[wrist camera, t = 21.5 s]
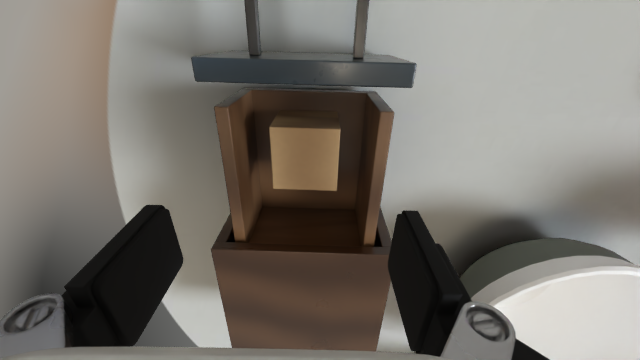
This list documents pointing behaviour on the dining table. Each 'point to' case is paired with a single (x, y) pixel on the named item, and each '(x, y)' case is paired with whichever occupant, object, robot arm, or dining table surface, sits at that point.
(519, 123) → the dining table surface
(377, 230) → the cabinet
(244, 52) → the drawer
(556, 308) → the bowl
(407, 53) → the dining table surface
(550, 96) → the dining table surface
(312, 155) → the block
